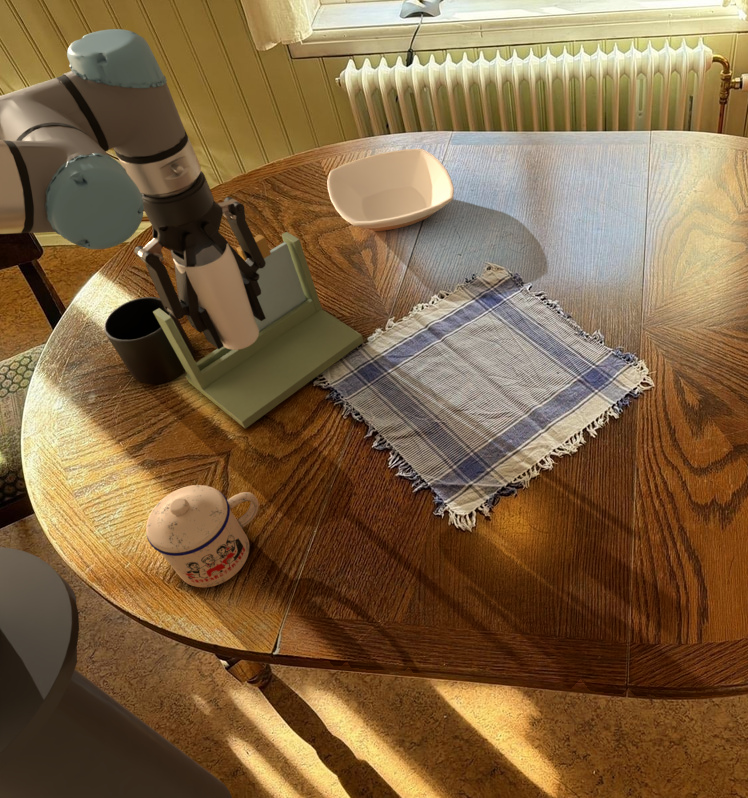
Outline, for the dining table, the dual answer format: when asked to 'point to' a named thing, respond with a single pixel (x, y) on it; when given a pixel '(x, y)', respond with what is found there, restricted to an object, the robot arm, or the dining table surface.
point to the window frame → (268, 354)
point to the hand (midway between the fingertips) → (236, 329)
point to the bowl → (390, 189)
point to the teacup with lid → (201, 533)
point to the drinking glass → (223, 296)
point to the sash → (276, 282)
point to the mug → (145, 341)
